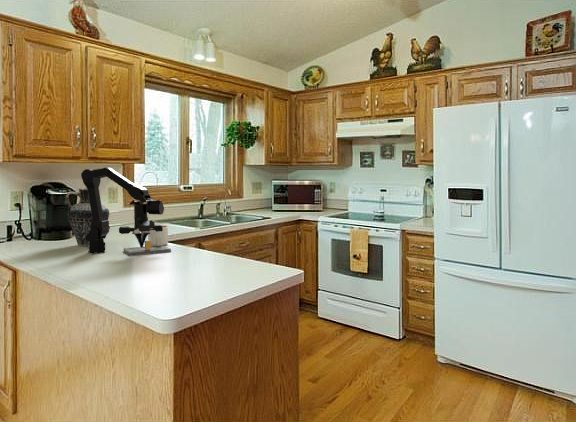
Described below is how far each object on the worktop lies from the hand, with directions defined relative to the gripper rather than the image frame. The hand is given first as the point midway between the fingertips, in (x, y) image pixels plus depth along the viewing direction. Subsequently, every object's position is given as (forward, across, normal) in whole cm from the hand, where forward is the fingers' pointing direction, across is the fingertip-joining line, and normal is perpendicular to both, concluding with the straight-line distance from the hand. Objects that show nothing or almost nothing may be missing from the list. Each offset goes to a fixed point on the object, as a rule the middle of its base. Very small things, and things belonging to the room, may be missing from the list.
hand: (141, 247), depth 188 cm
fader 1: (+1, +3, 0) cm, 3 cm away
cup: (+3, +14, +20) cm, 25 cm away
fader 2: (+1, +10, +8) cm, 13 cm away
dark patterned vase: (+3, -18, +38) cm, 42 cm away
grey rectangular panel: (+3, +4, +4) cm, 6 cm away
